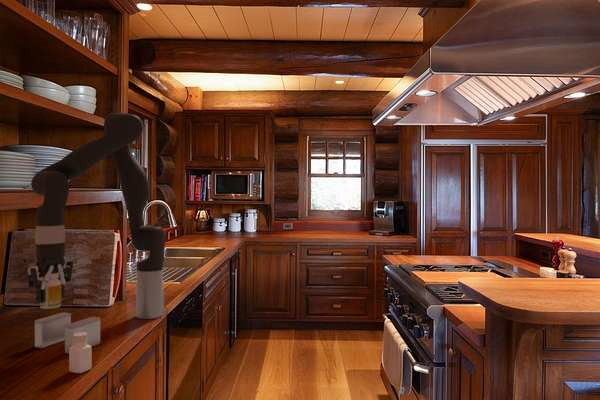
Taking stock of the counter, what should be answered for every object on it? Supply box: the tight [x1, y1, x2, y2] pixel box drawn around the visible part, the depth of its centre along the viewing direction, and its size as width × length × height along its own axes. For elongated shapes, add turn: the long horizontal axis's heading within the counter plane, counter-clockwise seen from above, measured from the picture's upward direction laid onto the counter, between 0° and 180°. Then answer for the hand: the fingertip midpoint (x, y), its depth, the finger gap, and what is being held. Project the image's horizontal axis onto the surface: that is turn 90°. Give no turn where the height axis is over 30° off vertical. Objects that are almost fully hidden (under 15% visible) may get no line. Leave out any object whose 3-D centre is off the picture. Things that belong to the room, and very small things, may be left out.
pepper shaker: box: [68, 332, 92, 374], centre depth 117 cm, size 4×4×10 cm
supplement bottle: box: [39, 273, 62, 310], centre depth 130 cm, size 5×5×10 cm
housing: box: [34, 312, 101, 354], centre depth 136 cm, size 10×15×8 cm, turn 69°
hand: (50, 299), depth 130 cm, fingers closed on supplement bottle, 5 cm apart
